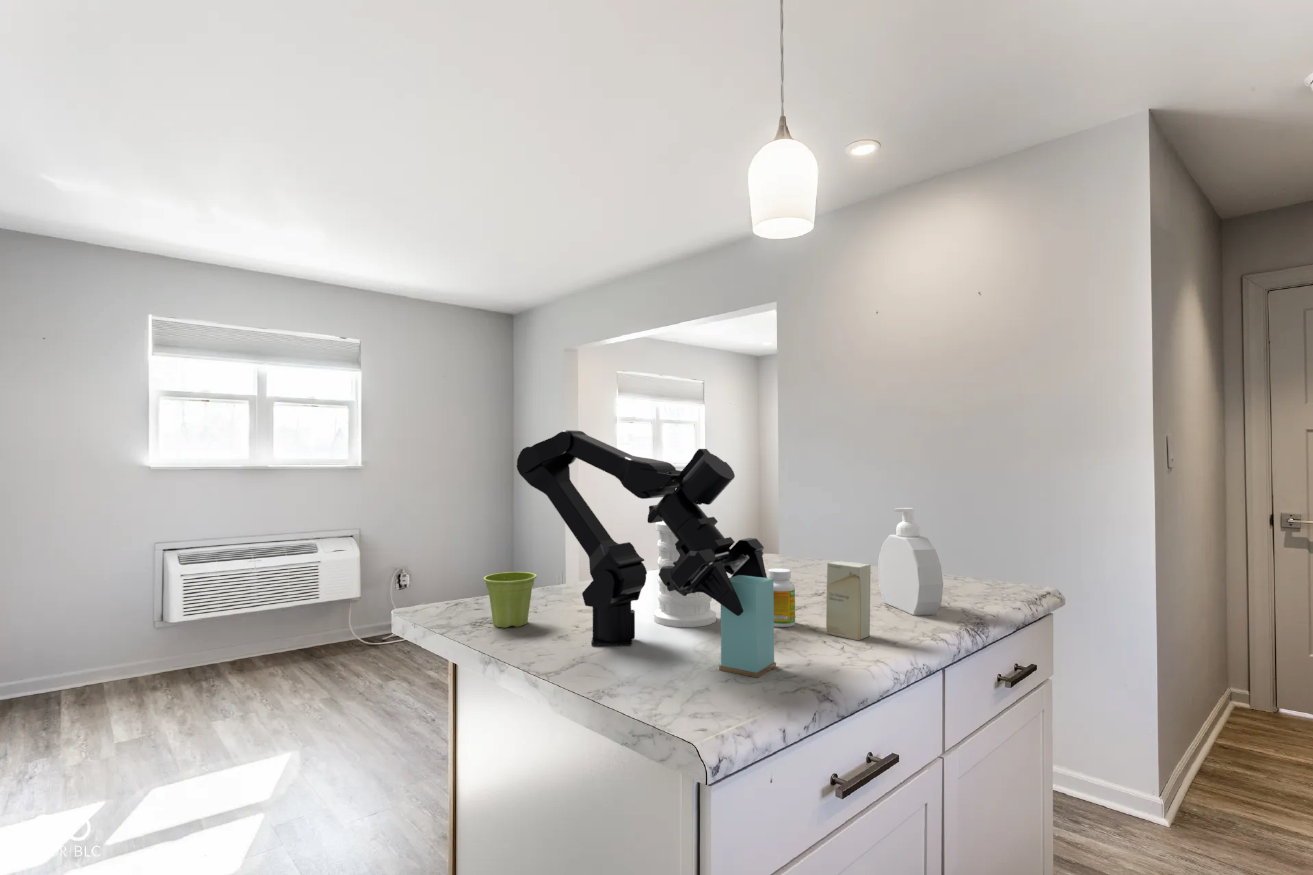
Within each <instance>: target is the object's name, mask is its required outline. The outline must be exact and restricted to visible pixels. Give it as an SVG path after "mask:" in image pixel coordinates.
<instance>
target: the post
mask: <svg viewBox="0 0 1313 875" xmlns="http://www.w3.org/2000/svg"><path fill="white" fill-rule="evenodd" d="M776 667H777V662H776V661H774V663H772V664H771V665H769V666H767V667H766V668H764V669H762V670H761V671H759V672H757V673H755V672H750V671H745V670H740V669H735V668H730V667H725V666H721V664H720V665H718V668H719V669H718V670H719V671H724V672H729V673H734V674H737V675H742V676H747V677H753V678H759V677H761V676H762V675H765V674H766V673H768V672H769V671H771V670H773V669H774V668H776Z"/></svg>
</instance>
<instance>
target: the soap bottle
mask: <svg viewBox="0 0 1313 875" xmlns="http://www.w3.org/2000/svg"><path fill="white" fill-rule="evenodd" d="M893 512H895V513H902V516H901V517H902V521H901V522H898V524H897V525H896V528H895V530H896V532H895V534H889V535H888V537H887V538H886V539H885V540H884V541H883V543H882V544H881V549H880V551H879V554H878V562H877V563H878V564H877V576H878V586H879V587H878V588H879V591H880V596H881V597H882V601H883V603H884V604H886V605H889V606H890V607H892V606H893V607H892V608H895V609H897V608H898V610H899V609H900V611H902V610H903V611H902V612H904V613H907V614H909V615H912V616H914V615H918V616H933V615H934V614H936V615H937V614H938V612H939V609H940V607H941V603H942V600H943V593H944V592H943V590H944V589H943V588H944V580H943V571H942V565H941V564H942V563H941V562H940V558H939V556H938V552H937V550H936V548H935V547H934V545H933V544H932V543H931V541H930V539H929V538H928V537H925V536H921V529H920V526H919V524H918V523H916V522H915V521H914V508H913V507H896V508H893Z"/></svg>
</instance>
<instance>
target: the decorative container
mask: <svg viewBox="0 0 1313 875" xmlns="http://www.w3.org/2000/svg"><path fill="white" fill-rule="evenodd" d="M655 531H657V532H658V533H659V536H658V540H657V543H656V544H657V549H658V550H659V551H658V554H659V556H658V558H657V561H656V562H657V565H658V569H659V572H660V570H661V568H662V567H664V566H675V565H674V564H673V563H674V562H675V561H677V560H678V558H679V556H680V554H679V552H678V551H677V550H676V546H675V544H676V543H677V541H678V539H677V538H676V537H675V535H674V534H673V533H672V532H671V530H670V529H669V528H668V527H667V525H666V524H665V523H664V521H662V522H655ZM659 572H658V573H659ZM657 584H659V586H658V589H659V591H658V592H657V593H658V594H657V600H658V602H659V603H658V604H659V606H658V609H656V610H655V611H654V612H653V620H654V622H655V623H656V624H659V625H661V626H666V627H673V628H698V627H700V628H701V627H705V626H709V625H712V624H714V623H715V622H716V621H717V612H716V611H715V610H713V609H712V608H711V601H712V599H713V598H711V597H710V596H708V595H707V594H705V593H702V592H696V593H690V594H687V596H683V595H681V594H680V593H679V592H677V591H676V590H673V591H668V590H667V586H665V585H664V583H663V582H662V580H661V578H660V577H659V574H658V575H657Z"/></svg>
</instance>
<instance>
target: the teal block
mask: <svg viewBox="0 0 1313 875" xmlns="http://www.w3.org/2000/svg"><path fill="white" fill-rule="evenodd" d="M730 577H731V576H730ZM730 577H729V579H730V581H731V583H732V585H733V588H734V590H735V592H736V594H737V596H738V598H739V600H740V603H741V605H742V608H743V613H742V614H741V615H740V616H737V615H735V614H734V613H732V612H731V611H730V610H728V609H727V608H725V607H724V606H723V605H721V604H720V665H721V666H725V667H730V668H735V669H740V670H745V671H750V672H755V673H757V672H759V671H761V670H762V669H764V668H766V667H767V666H769V665H771V664H772V663H774V662H775V627H774V581H773V579H771V578H769V577H767V578H762V577H753V576H744V575H737V576H734V577H731V578H730Z"/></svg>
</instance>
